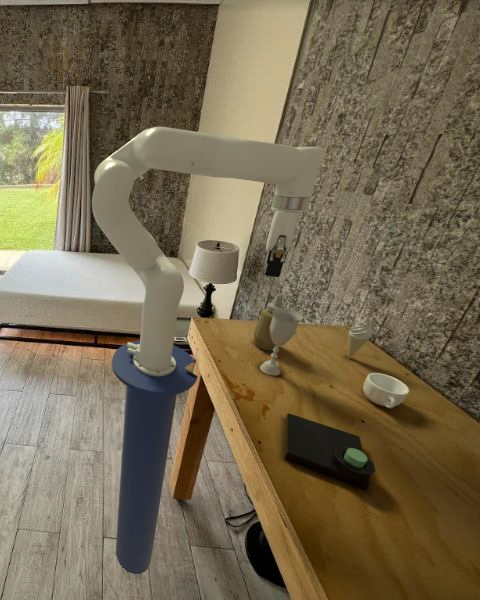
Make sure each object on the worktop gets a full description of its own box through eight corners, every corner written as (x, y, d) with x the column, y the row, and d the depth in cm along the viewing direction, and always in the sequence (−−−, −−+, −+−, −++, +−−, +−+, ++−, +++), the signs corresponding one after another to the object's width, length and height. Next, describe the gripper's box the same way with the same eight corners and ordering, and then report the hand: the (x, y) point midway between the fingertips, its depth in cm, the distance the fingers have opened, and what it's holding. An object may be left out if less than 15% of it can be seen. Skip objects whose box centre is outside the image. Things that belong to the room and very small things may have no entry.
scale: (284, 460, 64) (289, 447, 62) (285, 419, 74) (289, 406, 72) (369, 494, 58) (378, 479, 56) (358, 444, 67) (365, 431, 66)
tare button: (344, 463, 59) (348, 457, 59) (342, 451, 62) (346, 445, 61) (365, 471, 58) (369, 464, 57) (362, 458, 60) (366, 452, 59)
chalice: (264, 359, 95) (280, 305, 87) (288, 370, 90) (307, 315, 82) (251, 368, 91) (266, 313, 83) (276, 381, 86) (295, 323, 78)
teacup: (355, 385, 84) (363, 369, 81) (393, 394, 80) (402, 378, 78) (365, 411, 76) (374, 393, 73) (408, 422, 72) (418, 404, 70)
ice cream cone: (361, 365, 91) (382, 320, 85) (340, 360, 94) (358, 315, 87) (358, 356, 95) (377, 312, 89) (337, 351, 98) (355, 308, 91)
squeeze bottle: (279, 355, 96) (296, 302, 88) (249, 348, 100) (263, 296, 92) (279, 342, 102) (295, 292, 94) (251, 336, 106) (265, 287, 98)
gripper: (272, 197, 85) (258, 258, 92) (271, 208, 71) (254, 278, 79) (306, 199, 81) (288, 262, 89) (311, 210, 68) (289, 283, 75)
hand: (272, 270), depth 84 cm, fingers open, 9 cm apart
